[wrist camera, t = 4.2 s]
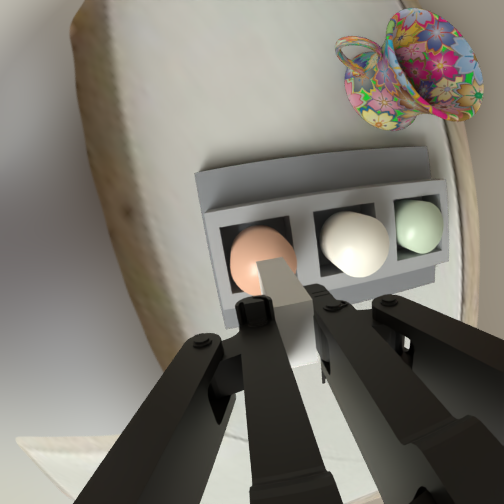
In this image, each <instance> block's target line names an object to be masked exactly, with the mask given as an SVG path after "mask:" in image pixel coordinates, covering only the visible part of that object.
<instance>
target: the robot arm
mask: <svg viewBox="0 0 504 504" xmlns="http://www.w3.org/2000/svg"><path fill="white" fill-rule="evenodd" d="M256 265H257V271H258V277H259V283H260V289H261V294H262V295H256V296H250V297H246V298H243V299H241V300H239V301H238V302H237V303H236V304H235V309H236V314H237V319H238V323H239V332H238V333H237V334H236V335H235V336H233V337H231V338H229V339H226V340H223V341H221V338H220V336H219V335H217V334H214V333H205V334H204V333H201V334H199V335H195V336H194V337H192V338H190V339H188V340H187V341H186V342H185V343H184V345H183V346H182V348H181V349H180V350H179V352H178V353H177V355H176V356H175V358H174V359H173V360H172V362H171V363H170V365H169V366H168V368H167V369H166V370H165V372H164V373H163V375H162V376H161V378H160V379H159V380H158V382H157V384H156V385H155V386H154V388H153V389H152V390H151V392H150V393H149V395H148V397H147V398H146V399H145V401H144V402H143V403H142V405H141V406H140V408H139V409H138V411H137V412H136V413H135V415H134V416H133V418H132V419H131V421H130V422H129V424H128V425H127V426H126V428H125V429H124V431H123V432H122V434H121V435H120V436H119V438H118V439H117V441H116V442H115V444H114V445H113V447H112V448H111V449H110V451H109V452H108V454H107V455H106V457H105V458H104V460H103V461H102V462H101V464H100V465H99V467H98V468H97V470H96V471H95V473H94V474H93V475H92V477H91V478H90V480H89V481H88V483H87V484H86V486H85V487H84V488H83V490H82V491H81V493H80V494H79V496H78V497H77V499H76V500H75V501H74V503H73V504H200V501H201V498H202V496H203V493H204V490H205V487H206V484H207V482H208V479H209V476H210V473H211V470H212V468H213V465H214V462H215V459H216V456H217V453H218V451H219V448H220V445H221V442H222V439H223V436H224V433H225V430H226V427H227V424H228V421H229V418H230V415H231V412H232V409H233V406H234V403H235V400H236V394H235V393H237V392H240V391H242V390H244V395H245V407H246V418H247V429H248V440H249V451H250V462H251V472H252V486H251V487H250V491H249V493H250V504H343V502H342V499H341V496H340V494H339V491H338V488H337V485H336V482H335V480H334V478H333V475H332V474H331V472H330V471H328V472H327V470H326V469H325V466H324V463H323V460H322V457H321V454H320V451H319V448H318V445H317V442H316V439H315V436H314V433H313V430H312V427H311V424H310V421H309V418H308V415H307V413H306V410H305V407H304V404H303V401H302V398H301V395H300V392H299V389H298V386H297V383H296V380H295V377H294V374H293V371H292V368H294V367H299V366H304V365H308V364H312V363H317V362H318V353H319V355H320V357H321V370H322V383H325V379H327V381H328V383H329V385H330V387H331V390H332V392H333V394H334V396H335V398H336V400H337V402H338V404H339V406H340V409H341V411H342V413H343V415H344V417H345V419H346V421H347V423H348V426H349V428H350V430H351V432H352V434H353V436H354V438H355V441H356V443H357V445H358V447H359V449H360V451H361V454H362V456H363V458H364V460H365V462H366V464H367V467H368V469H369V471H370V473H371V475H372V477H373V480H374V482H375V484H376V486H377V488H378V490H379V493H380V495H381V497H382V499H383V502H384V504H504V340H502V339H500V338H498V337H495V336H493V335H491V334H488V333H486V332H484V331H482V330H479V329H477V328H475V327H472V326H470V325H468V324H465V323H463V322H461V321H458V320H456V319H454V318H451V317H449V316H447V315H444V314H442V313H440V312H437V311H435V310H433V309H430V308H428V307H425V306H423V305H421V304H418V303H416V302H414V301H411V300H409V299H406V298H404V297H402V296H398V295H392V294H387V295H386V294H385V295H382V296H379V297H377V298H375V299H374V300H373V301H372V309H368V310H356V309H355V308H354V307H353V306H352V305H351V304H350V303H349V302H347V301H344V300H336V299H335V298H334V297H333V295H332V294H330V292H329V291H328V290H327V289H326V288H325V286H323V285H320V284H317V283H316V284H311V285H306V286H303V285H302V284H301V283H300V281H299V280H298V278H297V277H296V275H295V274H294V273H293V271H292V270H291V268H290V267H289V266H288V264H287V263H286V261H285V260H284V258H283V257H279V258H273V259H268V260H263V261H257V262H256ZM405 336H406V337H407V338H409V339H410V348H409V349H407V348H405V347H404V340H405ZM317 351H318V352H317Z"/></svg>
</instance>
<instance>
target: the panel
mask: <svg viewBox="0 0 504 504" xmlns="http://www.w3.org/2000/svg"><path fill="white" fill-rule="evenodd" d="M194 174H195V180H196V185H197V191H198V197H199V202H200V207H201V213H202V218H203V223H204V229H205V234H206V239H207V244H208V249H209V254H210V259H211V264H212V268H213V273H214V278H215V283H216V287H217V292H218V297H219V301H220V306H221V310H222V315H223V319H224V324H225V328H226V329H230V328H237V327H239V323H238V319H237V314H236V309H235V304H236V303H237V302H238V301H239V300H241V299H243V298H246V297H250V296H253V295H250V294H248V293H246V292H244V291H243V290H242V289H241V288H240V287H238V285H237V284H236V283H235V281H234V279H233V277H232V274H231V268H230V254H231V246H232V243H233V241H234V239H235V238H236V236H237V235H238V234H239V233H240V232H241V231H242V230H244V229H246V228H248V227H250V226H254V225H265V226H269V227H271V228H274V229H275V230H277V231H278V232H279V233H280V234H281V235H282V236H283V237H284V238H285V239H286V240H287V241H288V242H289V243H290V245H291V246H292V247H293V249H294V251H295V254H296V258H297V269H296V273H295V275H296V277H297V278H298V280H299V281H300V283H301V284H302V285H303V286H306V285H311V284H316V283H317V284H320V285H323V286H325V288H326V289H327V290H328V291H329V292H330V294H332V295H333V297H334V298H335V299H336V300H344V301H347V302H349V303H350V304H355V303H359V302H363V301H367V300H371V299H375V298H377V297H379V296H382V295H385V294H386V295H387V294H394V293H398V292H402V291H405V290H409V289H413V288H416V287H420V286H423V285H427V284H430V283H433V282H435V265H436V264H440V263H444V262H448V261H449V219H448V200H447V187H446V180H445V179H431V173H430V164H429V157H428V150H427V146H419V147H395V148H378V149H364V150H351V151H340V152H330V153H321V154H312V155H303V156H295V157H288V158H280V159H273V160H266V161H260V162H253V163H247V164H241V165H235V166H229V167H223V168H218V169H212V170H207V171H202V172H197V173H194ZM400 199H411V200H418V201H425V202H430V203H432V204H434V205H435V206H436V207H437V208H438V209H439V210H440V212H441V214H442V217H443V223H444V228H443V234H442V237H441V240H440V242H439V243H438V245H437V246H436V247H435V248H434V249H433V250H432V251H430V252H428V253H424V254H420V253H417V252H414V251H412V250H409V249H407V248H405V247H402V246H400V245H398V244H397V243H396V226H395V213H394V202H396V201H397V200H400ZM340 211H352V212H356V213H360V214H363V215H367V216H371V217H373V218H376V219H377V220H379V221H380V222H381V223H382V224H383V225H384V227H385V228H386V230H387V233H388V236H389V242H390V246H389V252H388V256H387V258H386V260H385V262H384V264H383V265H382V266H381V267H380V268H379V269H378V270H377V271H376V272H375V273H373V274H371V275H369V276H366V277H352V276H349V275H347V274H346V273H344V272H343V271H342V270H341V269H339V268H338V267H337V266H336V265H334V264H333V263H332V262H331V261H330V260H328V259H327V258H326V257H325V255H324V254H323V252H322V250H321V247H320V242H319V237H320V231H321V228H322V226H323V224H324V223H325V221H326V220H327V219H328V218H329V217H330V216H332V215H333V214H335V213H337V212H340Z"/></svg>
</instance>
